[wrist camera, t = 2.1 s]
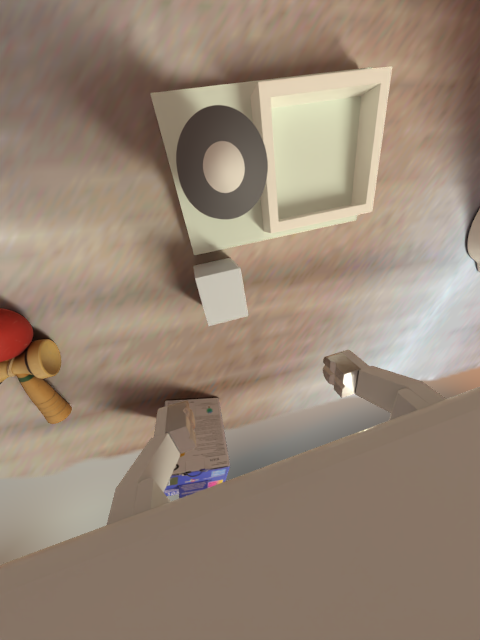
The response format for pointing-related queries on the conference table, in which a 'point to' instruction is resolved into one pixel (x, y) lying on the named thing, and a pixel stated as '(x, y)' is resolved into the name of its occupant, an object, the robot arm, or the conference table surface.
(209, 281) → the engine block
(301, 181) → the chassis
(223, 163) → the wheel
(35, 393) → the kendama
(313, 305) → the conference table surface
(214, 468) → the ink cartridge box
